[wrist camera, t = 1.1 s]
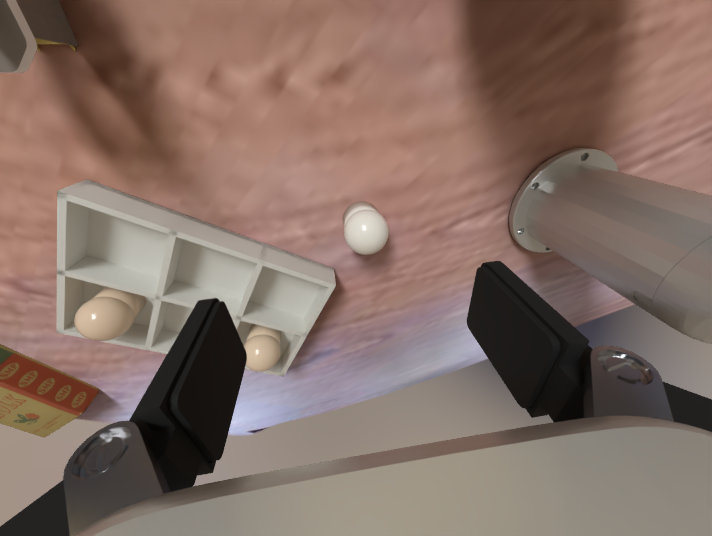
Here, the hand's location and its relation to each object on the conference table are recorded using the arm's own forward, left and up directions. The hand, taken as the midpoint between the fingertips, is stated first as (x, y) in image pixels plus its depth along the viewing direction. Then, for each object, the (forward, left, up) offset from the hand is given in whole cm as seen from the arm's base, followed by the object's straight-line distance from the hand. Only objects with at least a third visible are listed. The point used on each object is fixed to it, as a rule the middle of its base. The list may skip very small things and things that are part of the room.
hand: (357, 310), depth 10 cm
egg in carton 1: (+15, +22, -20) cm, 34 cm away
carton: (+26, +41, -21) cm, 53 cm away
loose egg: (-5, +3, -21) cm, 22 cm away
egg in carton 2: (-1, +22, -20) cm, 30 cm away
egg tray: (+7, +18, -21) cm, 29 cm away
